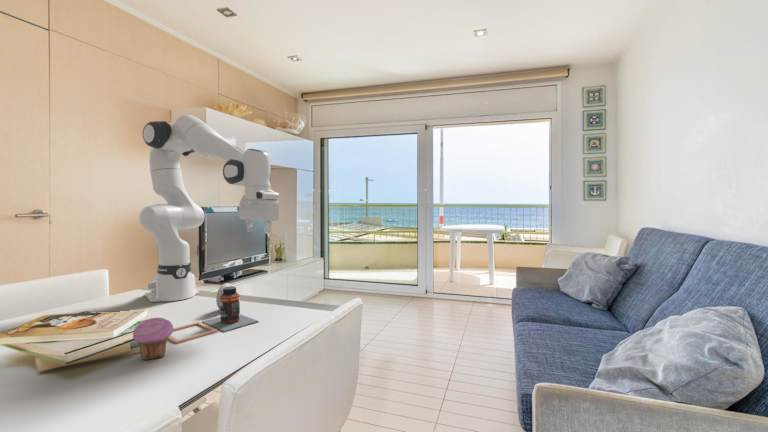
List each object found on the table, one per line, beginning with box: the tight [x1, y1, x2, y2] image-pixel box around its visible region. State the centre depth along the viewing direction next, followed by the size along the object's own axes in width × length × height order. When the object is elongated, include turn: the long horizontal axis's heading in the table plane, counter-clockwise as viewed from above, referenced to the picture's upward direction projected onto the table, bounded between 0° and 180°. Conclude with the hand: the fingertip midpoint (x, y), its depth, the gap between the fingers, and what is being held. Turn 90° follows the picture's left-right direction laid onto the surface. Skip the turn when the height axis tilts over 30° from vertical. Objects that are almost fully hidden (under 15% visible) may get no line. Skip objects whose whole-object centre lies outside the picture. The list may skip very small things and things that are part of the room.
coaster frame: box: [168, 321, 219, 344], centre depth 110 cm, size 12×12×1 cm
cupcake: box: [132, 317, 174, 361], centre depth 93 cm, size 9×9×10 cm
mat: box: [201, 313, 259, 333], centre depth 120 cm, size 14×12×1 cm
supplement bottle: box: [219, 285, 241, 324], centre depth 119 cm, size 6×6×11 cm
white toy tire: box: [216, 282, 233, 310], centre depth 133 cm, size 10×4×10 cm, turn 179°
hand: (258, 232), depth 129 cm, fingers open, 8 cm apart
